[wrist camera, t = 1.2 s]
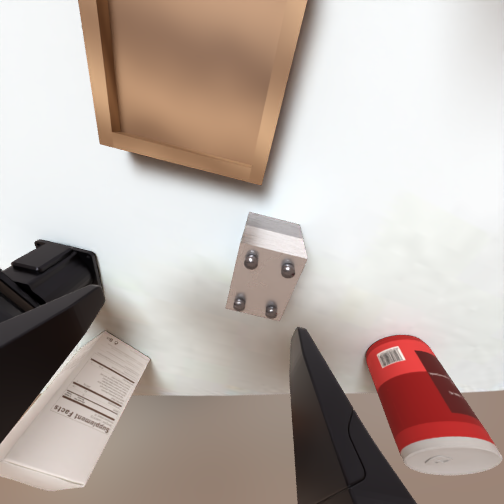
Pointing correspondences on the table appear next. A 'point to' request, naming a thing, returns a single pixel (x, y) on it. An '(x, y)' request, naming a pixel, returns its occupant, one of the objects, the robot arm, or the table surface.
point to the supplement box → (73, 417)
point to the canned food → (428, 410)
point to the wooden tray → (191, 78)
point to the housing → (266, 266)
